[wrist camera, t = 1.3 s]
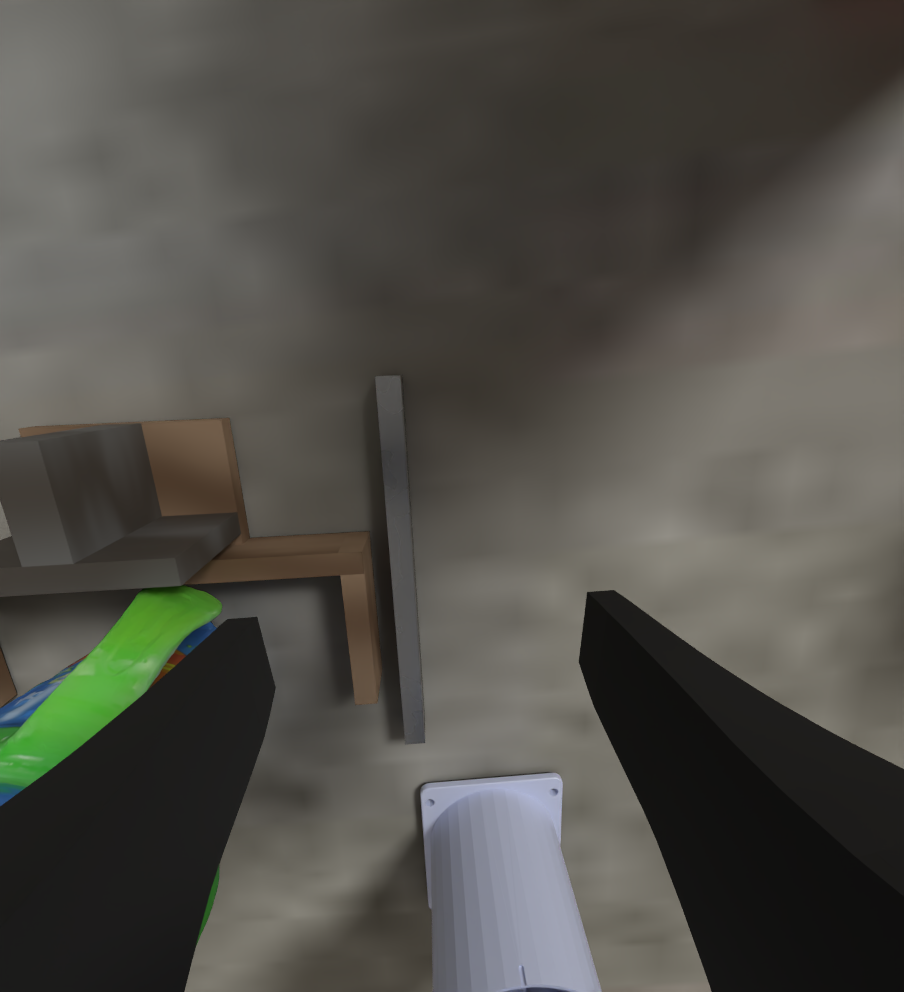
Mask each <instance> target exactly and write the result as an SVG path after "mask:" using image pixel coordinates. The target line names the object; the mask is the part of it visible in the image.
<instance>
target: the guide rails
mask: <svg viewBox="0 0 904 992" xmlns="http://www.w3.org/2000/svg"><path fill="white" fill-rule="evenodd" d="M375 383H376V395H377V407H378V419H379V432H380V444H381V456H382V468H383V480H384V492H385V505H386V517H387V529H388V541H389V553H390V565H391V577H392V590H393V602H394V614H395V626H396V638H397V650H398V663H399V675H400V687H401V699H402V711H403V723H404V735H405V744H417V743H425V713H424V698H423V683H422V668H421V653H420V638H419V623H418V608H417V593H416V578H415V563H414V547H413V532H412V517H411V502H410V487H409V472H408V457H407V442H406V427H405V412H404V397H403V382H402V375H394V376H375Z"/></svg>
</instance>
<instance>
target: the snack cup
mask: <svg viewBox="0 0 904 992" xmlns="http://www.w3.org/2000/svg"><path fill="white" fill-rule="evenodd" d="M221 610H222V604H221V602H220V601H219V600H217V599H216V598H215V597H213V596H212V595H210V594H208V593H206V592H204V591H199V590H196V589H193V588H191V587H188V586H184V585H182V586H170V587H154V588H143V589H142V590H141V591H140V592H139V593H138V594H137V596H136V597H135V599H134V600H133V602H132V603H131V604H130V606H129V607H128V608H127V610H126V611H125V612H124V613H123V615H122V616H121V618H120V619H119V620H118V621H117V623H116V624H115V625H114V626H113V627H112V628H111V630H110V631H109V632H108V633H107V635H106V636H105V637H104V638H103V640H102V641H101V642H100V643H99V644H98V645H97V646H96V647H95V648H94V649H93V650H92V651H91V652H90V653H89V654H88V655H86V656H84V657H83V658H81V659H79V660H78V661H76V662H75V663H73V664H71V665H70V666H68V667H66V668H65V669H63V670H62V671H60V672H59V673H58V674H57V675H55V676H54V677H53V678H51V679H49V680H47V681H45V682H42V683H40V684H39V685H37V686H35V687H34V688H32V689H31V690H29V691H28V692H27V693H25V694H24V695H23V696H20V697H18V698H16V699H15V700H13V701H11V702H10V703H8V704H7V705H5V706H3V707H2V708H0V806H1V805H3V804H4V803H5V802H7V801H8V800H10V799H11V798H12V797H14V796H15V795H16V794H18V793H19V792H20V791H22V790H23V789H25V788H26V787H27V786H29V785H30V784H31V783H33V782H34V781H36V780H37V779H38V778H40V777H41V776H42V775H44V774H45V773H46V772H48V771H49V770H50V769H52V768H53V767H54V766H56V765H57V764H58V763H60V762H61V761H62V760H63V759H65V758H66V757H67V756H69V755H70V754H71V753H72V752H74V751H75V750H76V749H78V748H79V747H80V746H81V745H83V744H84V743H85V742H86V741H87V740H89V739H90V738H91V737H92V736H93V735H95V734H96V733H97V732H98V731H100V730H101V729H102V728H103V727H104V726H106V725H107V724H108V723H109V722H110V721H112V720H113V719H114V718H115V717H116V716H118V715H119V714H120V713H121V712H123V711H124V710H125V709H126V708H127V707H129V706H130V705H131V704H132V703H133V702H135V701H136V700H137V699H138V698H139V697H140V696H142V695H143V694H144V693H145V692H146V691H147V690H148V689H150V688H151V687H152V686H153V685H154V684H155V683H156V682H157V681H159V680H160V679H161V678H162V677H163V676H164V675H165V674H167V673H168V672H169V671H170V670H171V669H172V668H173V667H174V666H176V665H177V664H178V663H179V662H180V661H181V660H182V659H183V658H184V657H186V656H187V655H188V654H189V653H190V652H191V651H192V650H193V649H194V648H196V647H197V646H198V645H199V644H200V643H201V642H202V641H203V640H204V639H205V638H207V637H208V636H209V635H210V634H211V633H212V632H213V631H214V630H216V629H217V628H216V627H215V626H214V625H213V624H212V623H211V622H210V621H211V620H213V619H214V618H216V617H217V616H218V615H219V614H220V613H221ZM218 882H219V867H218V870H217V873H216V876H215V879H214V882H213V885H212V888H211V892H210V895H209V899H208V903H207V907H206V910H205V914H204V918H203V922H202V925H201V929H200V933H199V936H198V940H199V938H200V935H201V933H202V931H203V929H204V927H205V925H206V922H207V920H208V917H209V915H210V912H211V909H212V906H213V902H214V899H215V895H216V892H217V887H218ZM198 940H197V943H198ZM196 945H197V944H196Z"/></svg>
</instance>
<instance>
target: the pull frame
mask: <svg viewBox="0 0 904 992" xmlns="http://www.w3.org/2000/svg"><path fill="white" fill-rule="evenodd" d="M19 432H20V435H21V437H20V438H14V439H8V440H1V441H0V501H1V504H2V507H3V510H4V513H5V516H6V519H7V522H8V525H9V529H10V532H11V535H12V536H11V537H8V538H6V539H3V540H1V541H0V597H6V596H22V595H39V594H55V593H72V592H88V591H104V590H121V589H137V588H154V587H170V586H182V585H190V584H206V583H223V582H239V581H256V580H272V579H289V578H305V577H321V576H338V575H340V577H341V585H342V594H343V602H344V611H345V620H346V628H347V637H348V646H349V654H350V663H351V671H352V680H353V689H354V697H355V705H362V704H375V703H377V702H378V695H379V688H380V681H381V674H382V660H381V649H380V638H379V628H378V617H377V606H376V596H375V585H374V574H373V564H372V553H371V543H370V532H369V531H364V532H346V533H328V534H311V535H293V536H275V537H258V538H250V536H249V530H248V524H247V518H246V512H245V506H244V501H243V495H242V489H241V483H240V477H239V471H238V466H237V460H236V454H235V448H234V442H233V437H232V431H231V425H230V419H229V418H217V419H194V420H171V421H148V422H125V423H102V424H79V425H57V426H35V427H27V428H20V429H19ZM16 695H17V693H16V690H15V687H14V685H13V682H12V679H11V676H10V673H9V671H8V668H7V665H6V662H5V660H4V657H3V654H2V651H1V648H0V707H2V706H3V705H4V704H5V703H7V702H8V701H9V700H11V699H12V698H13V697H14V696H16Z"/></svg>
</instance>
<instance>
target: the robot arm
mask: <svg viewBox="0 0 904 992" xmlns="http://www.w3.org/2000/svg"><path fill="white" fill-rule="evenodd" d="M579 664H580V667H581V670H582V673H583V676H584V679H585V682H586V685H587V688H588V691H589V694H590V697H591V700H592V702H593V705H594V708H595V710H596V712H597V714H598V716H599V718H600V720H601V723H602V725H603V727H604V729H605V731H606V733H607V735H608V737H609V740H610V742H611V744H612V746H613V748H614V750H615V752H616V754H617V756H618V758H619V760H620V763H621V765H622V767H623V769H624V771H625V773H626V775H627V777H628V779H629V781H630V783H631V785H632V788H633V790H634V792H635V794H636V796H637V798H638V800H639V802H640V804H641V806H642V808H643V810H644V813H645V815H646V817H647V819H648V822H649V824H650V826H651V829H652V831H653V833H654V835H655V838H656V840H657V843H658V845H659V848H660V851H661V853H662V856H663V859H664V861H665V864H666V866H667V869H668V872H669V874H670V877H671V880H672V882H673V885H674V887H675V890H676V893H677V895H678V898H679V901H680V903H681V906H682V909H683V912H684V915H685V917H686V920H687V923H688V926H689V928H690V931H691V934H692V937H693V940H694V942H695V945H696V948H697V951H698V953H699V956H700V959H701V962H702V965H703V967H704V970H705V973H706V976H707V979H708V982H709V985H710V988H711V991H712V992H904V769H902V768H900V767H898V766H896V765H894V764H892V763H890V762H888V761H886V760H884V759H882V758H880V757H878V756H876V755H874V754H872V753H870V752H868V751H866V750H864V749H862V748H860V747H858V746H856V745H854V744H852V743H851V742H849V741H847V740H845V739H843V738H841V737H839V736H837V735H835V734H834V733H832V732H830V731H828V730H826V729H824V728H822V727H821V726H819V725H817V724H815V723H814V722H812V721H810V720H808V719H807V718H805V717H803V716H801V715H800V714H798V713H796V712H794V711H793V710H791V709H789V708H787V707H785V706H784V705H782V704H780V703H778V702H777V701H775V700H774V699H772V698H770V697H769V696H767V695H765V694H764V693H762V692H760V691H759V690H757V689H755V688H754V687H752V686H751V685H749V684H748V683H746V682H745V681H743V680H741V679H740V678H738V677H737V676H735V675H734V674H732V673H731V672H729V671H727V670H726V669H724V668H723V667H721V666H720V665H718V664H717V663H715V662H714V661H712V660H711V659H709V658H708V657H707V656H705V655H704V654H702V653H701V652H699V651H698V650H696V649H695V648H694V647H692V646H691V645H689V644H688V643H686V642H685V641H684V640H682V639H681V638H679V637H678V636H677V635H675V634H674V633H673V632H671V631H670V630H668V629H667V628H666V627H664V626H663V625H662V624H660V623H659V622H657V621H656V620H655V619H653V618H652V617H651V616H649V615H648V614H647V613H645V612H644V611H642V610H641V609H640V608H638V607H637V606H636V605H634V604H633V603H632V602H630V601H629V600H627V599H626V598H625V597H623V596H622V595H620V594H619V593H617V592H616V591H614V590H609V591H596V592H587V599H586V607H585V615H584V623H583V632H582V640H581V648H580V656H579ZM274 693H275V684H274V680H273V676H272V672H271V669H270V665H269V661H268V657H267V653H266V649H265V645H264V642H263V638H262V634H261V630H260V626H259V622H258V619H257V617H251V618H238V619H227V620H226V621H225V622H224V623H223V624H221V625H220V626H219V627H218V628H217V629H216V630H214V631H213V632H212V633H211V634H210V635H209V636H208V637H207V638H205V639H204V640H203V641H202V642H201V643H200V644H199V645H198V646H197V647H196V648H194V649H193V650H192V651H191V652H190V653H189V654H188V655H187V656H186V657H184V658H183V659H182V660H181V661H180V662H179V663H178V664H177V665H176V666H174V667H173V668H172V669H171V670H170V671H169V672H168V673H167V674H165V675H164V676H163V677H162V678H161V679H160V680H159V681H157V682H156V683H155V684H154V685H153V686H152V687H151V688H150V689H148V690H147V691H146V692H145V693H144V694H143V695H142V696H140V697H139V698H138V699H137V700H136V701H135V702H133V703H132V704H131V705H130V706H129V707H127V708H126V709H125V710H124V711H123V712H121V713H120V714H119V715H118V716H116V717H115V718H114V719H113V720H112V721H110V722H109V723H108V724H107V725H106V726H104V727H103V728H102V729H101V730H100V731H98V732H97V733H96V734H95V735H93V736H92V737H91V738H90V739H89V740H87V741H86V742H85V743H84V744H83V745H81V746H80V747H79V748H78V749H76V750H75V751H74V752H72V753H71V754H70V755H69V756H67V757H66V758H65V759H63V760H62V761H61V762H60V763H58V764H57V765H56V766H54V767H53V768H52V769H50V770H49V771H48V772H46V773H45V774H44V775H42V776H41V777H40V778H38V779H37V780H36V781H34V782H33V783H31V784H30V785H29V786H27V787H26V788H25V789H23V790H22V791H20V792H19V793H18V794H16V795H15V796H14V797H12V798H11V799H10V800H8V801H7V802H5V803H4V804H3V805H1V806H0V992H184V991H185V987H186V983H187V979H188V975H189V971H190V967H191V963H192V959H193V955H194V951H195V948H196V944H197V940H198V936H199V933H200V929H201V925H202V922H203V918H204V914H205V910H206V907H207V903H208V899H209V895H210V892H211V888H212V885H213V882H214V879H215V876H216V873H217V870H218V867H219V863H220V860H221V857H222V855H223V852H224V849H225V846H226V844H227V841H228V838H229V835H230V832H231V830H232V827H233V824H234V821H235V818H236V816H237V813H238V810H239V807H240V805H241V802H242V799H243V796H244V793H245V791H246V788H247V785H248V782H249V780H250V777H251V774H252V771H253V768H254V765H255V763H256V760H257V757H258V754H259V751H260V748H261V745H262V742H263V739H264V737H265V732H266V728H267V724H268V720H269V716H270V711H271V707H272V702H273V697H274ZM562 786H563V783H562V780H561V777H560V775H559V774H557V773H543V774H531V775H519V776H507V777H495V778H483V779H471V780H459V781H447V782H435V783H427V784H425V785H423V786H422V787H421V791H420V797H421V810H422V824H423V837H424V851H425V865H426V878H427V892H428V905H429V908H430V909H431V910H432V971H433V992H602V990H601V987H600V984H599V980H598V977H597V973H596V970H595V966H594V963H593V959H592V956H591V952H590V949H589V945H588V942H587V938H586V935H585V931H584V928H583V924H582V921H581V917H580V914H579V910H578V907H577V903H576V900H575V896H574V893H573V889H572V886H571V882H570V879H569V876H568V872H567V869H566V865H565V862H564V858H563V855H562V851H561V848H560V842H561V814H562ZM551 789H552V790H551ZM428 799H432V800H428Z"/></svg>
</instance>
